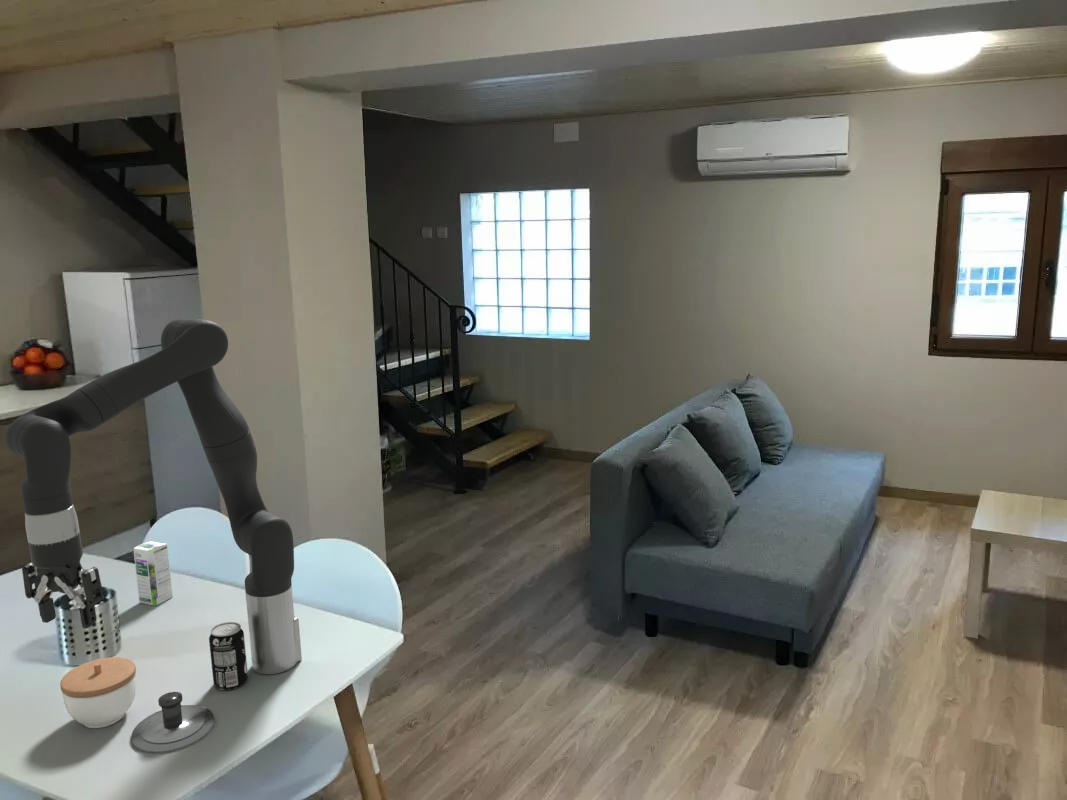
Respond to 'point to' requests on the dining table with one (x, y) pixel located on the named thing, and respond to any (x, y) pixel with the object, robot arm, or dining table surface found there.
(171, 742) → the steel lid
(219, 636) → the beverage can
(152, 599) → the syrup box
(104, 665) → the lidded bowl
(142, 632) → the dining table surface
